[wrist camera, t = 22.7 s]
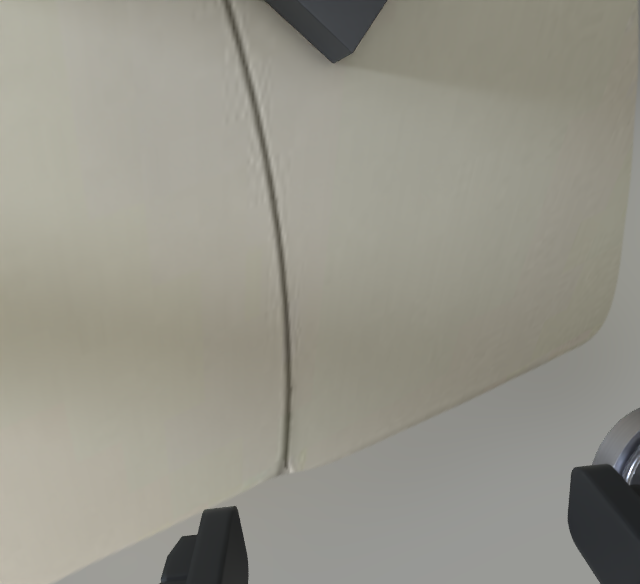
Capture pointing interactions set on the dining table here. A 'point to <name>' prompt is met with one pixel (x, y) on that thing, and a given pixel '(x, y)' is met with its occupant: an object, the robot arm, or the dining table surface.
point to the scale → (330, 22)
